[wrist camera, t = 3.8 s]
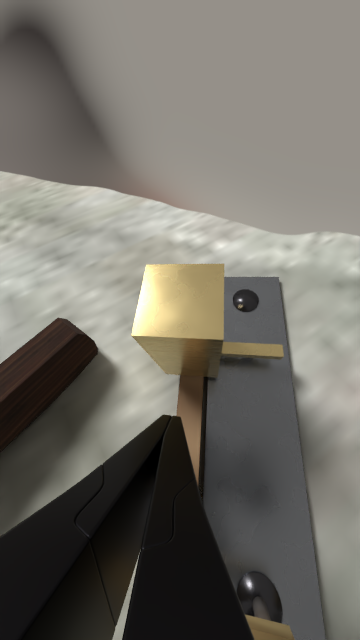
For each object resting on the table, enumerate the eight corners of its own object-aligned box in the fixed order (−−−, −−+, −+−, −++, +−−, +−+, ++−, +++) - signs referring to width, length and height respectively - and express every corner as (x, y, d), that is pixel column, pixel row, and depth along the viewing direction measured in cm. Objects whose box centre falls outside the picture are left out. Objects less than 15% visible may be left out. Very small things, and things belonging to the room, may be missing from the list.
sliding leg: (278, 383, 17) (346, 345, 9) (167, 375, 19) (131, 335, 10) (273, 334, 19) (325, 262, 10) (173, 330, 20) (146, 264, 12)
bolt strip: (329, 696, 11) (336, 711, 10) (197, 657, 12) (196, 669, 11) (277, 279, 23) (278, 276, 22) (211, 279, 24) (212, 276, 23)
